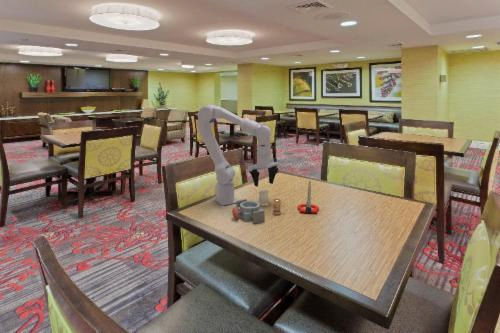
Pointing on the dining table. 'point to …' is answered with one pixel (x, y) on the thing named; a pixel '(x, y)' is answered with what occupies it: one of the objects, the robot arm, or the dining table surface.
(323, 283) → the dining table surface
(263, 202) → the cylinder
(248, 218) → the valve
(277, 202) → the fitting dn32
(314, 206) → the tow hook
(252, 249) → the dining table surface
